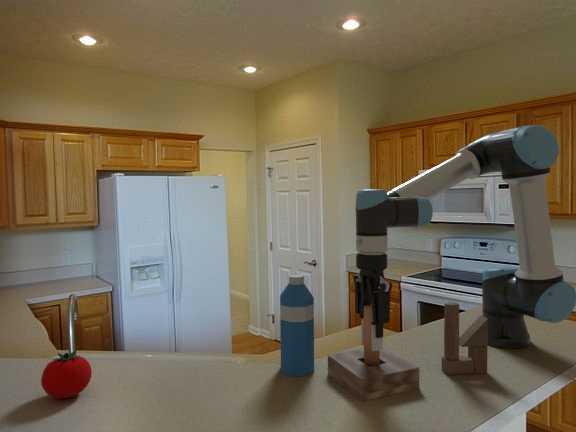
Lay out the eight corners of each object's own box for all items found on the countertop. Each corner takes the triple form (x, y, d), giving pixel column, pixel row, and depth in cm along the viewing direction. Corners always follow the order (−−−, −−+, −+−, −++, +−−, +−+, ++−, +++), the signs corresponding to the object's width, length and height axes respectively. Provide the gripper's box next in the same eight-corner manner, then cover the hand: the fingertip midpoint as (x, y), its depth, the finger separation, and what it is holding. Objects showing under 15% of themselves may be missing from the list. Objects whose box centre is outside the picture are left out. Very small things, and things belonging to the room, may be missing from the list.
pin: (373, 358, 106) (373, 304, 106) (382, 364, 103) (382, 307, 102) (360, 361, 105) (360, 305, 104) (369, 366, 101) (369, 309, 101)
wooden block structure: (487, 373, 108) (488, 304, 107) (447, 375, 107) (447, 305, 106) (480, 367, 111) (480, 300, 110) (441, 369, 110) (441, 301, 110)
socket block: (379, 363, 114) (379, 345, 114) (419, 388, 100) (419, 367, 99) (327, 373, 108) (327, 354, 108) (361, 401, 93) (361, 379, 93)
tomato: (58, 385, 103) (57, 345, 103) (100, 385, 103) (99, 345, 102) (31, 406, 93) (29, 362, 92) (77, 407, 92) (76, 362, 92)
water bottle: (318, 364, 114) (318, 273, 113) (309, 378, 106) (308, 280, 104) (286, 360, 117) (285, 272, 116) (274, 374, 109) (273, 278, 108)
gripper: (340, 249, 109) (341, 338, 110) (378, 258, 93) (378, 361, 94) (365, 248, 112) (365, 334, 113) (406, 255, 96) (406, 356, 97)
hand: (371, 346), depth 104 cm, fingers closed on pin, 4 cm apart
